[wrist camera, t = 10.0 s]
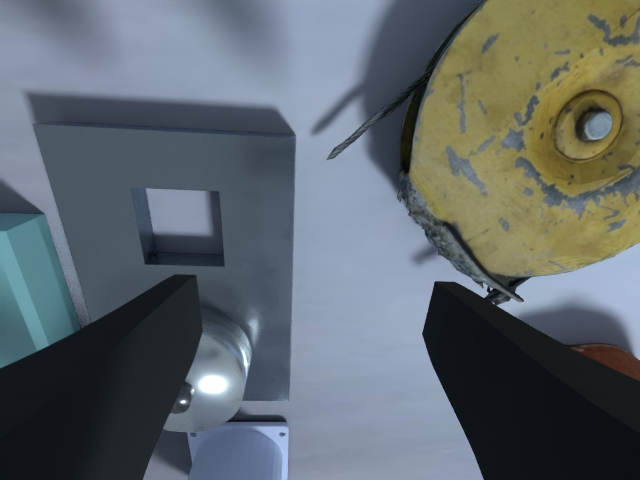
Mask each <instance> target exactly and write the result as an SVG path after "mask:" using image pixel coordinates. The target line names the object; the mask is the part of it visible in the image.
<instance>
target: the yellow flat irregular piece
mask: <svg viewBox="0 0 640 480" xmlns="http://www.w3.org/2000/svg"><path fill="white" fill-rule="evenodd" d="M412 93H413V94H412ZM411 94H412V96H411V98H410V101H409V103H408V105H407V109H406V113H405V116H404V120H403V124H402V128H401V137H400V145H399V154H398V155H399V164H400V170H399V174H398V184H399V192H398V195H397V198H398V200H399V202H400V201H401V196H402V197H403V198H404V199H405V200H406V201H407V204H406V207H407V208H408V209H409V210H410V213H409V214H408V215H409V216H412V217H413V218H415V219H416V223H418V224H420V226H422V227H423V228H421V229H425V235H426V237H427V239H428V241H429V242H430V243H432V244H433V245H435V246H436V247H437V249H438V251H439V252H438V255H441V256H443V257H444V258H446V259H447V260H449V261H450V262H451V264H452V265H453V266H454V267H455V268H456V270H458V271H460V272H462V273H463V274H465V275H467V276H469V277H471V278H472V279H473V281H474V282H476V283H477V284H479V285H480V286H481V287H482V288H483V283H486V284H487V285H488V288H487V292H488V293H489V294H488V295H487V296H486V297H485V298H484V299H486V300H488V301H489V302H491V303H493V302H494V303H495V305H496V306H497V305H499V304H501V303H504V302H507V301H509V300H510V299H511V298H513V299H515V300H517V301H518V302H523V301H524V300H523V299H522V298H521V297H520V296H519V295H517V294H516V293H515V290H516V288H517V287H518V286H519V285H521V284H522V283H523V282H525V281H526V280H528V279H529V278H531V277H535V276H545V275H555V274H560V273H566V272H571V271H574V270H577V269H580V268H583V267H586V266H588V265H591V264H594V263H597V262H600V261H603V260H606V259H608V258H611V257H614V256H615V255H617V254H619V253H621V252H622V251H624V250H626V249H628V248H630V247H632V246H634V245H636V244H637V243H639V242H640V0H484V1H483V2H481V3H480V4H478V5H477V6H476V7H474V8H473V9H472V10H471V11H470V12H469V13H468V14H466V15H465V16H464V17H463V18H462V19H461V20H460V21H459V22H458V23H457V24H456V26H455V27H454V28H453V29H452V30H451V32H450V33H449V34H448V35H447V36H446V38H445V39H444V40H443V41H442V42H441V43H440V45H439V46H438V47H437V49H436V51H435V52H434V54H433V55H432V57H431V59H430V60H429V62H428V63H427V65H426V67H425V68H424V70H423V72H422V73H421V75H420V77H419V78H418V79H416V80H415V81H414V82H413V83H411V84H410V85H409V86H408V87H407V88H406V89H404V90H403V91H402V92H401V93H400V94H399V95H397V96H396V97H395V98H394V99H393V100H392V101H391V102H389V103H388V104H387V105H386V106H385V107H383V108H382V109H381V110H380V111H378V112H377V113H376V114H375V115H374V116H372V117H371V118H370V119H369V120H368V121H366V122H365V123H364V124H363V125H362V126H361V127H360V128H359V129H358V130H357V131H356V132H354V133H353V134H352V135H351V136H350V137H349V138H348V139H346V140H345V141H344V142H343V143H342V144H340V145H338V146H337V147H335V148H334V149H333V151H332V152H331V154H330V155H329V157H328V158H327V160H329V159H333V158H335V157H336V156H337V155H338V154H339V153H341V152H342V151H343V150H344V149H345V148H347V147H348V146H349V145H350V144H352V143H353V142H354V141H355V140H356V139H358V138H359V137H360V136H361V135H362V134H363V133H364V132H365V131H366V130H367V129H368V128H369V127H370V126H372V125H373V124H375V123H376V122H378V121H379V120H381V119H382V118H384V117H386V116H388V115H389V114H390V113H392V112H393V111H394V110H395V109H396V108H398V107H399V106H400V105H401V104H402V103H403V102H404V101H405V100H406V99H407V98H408V97H409V96H410V95H411ZM489 287H491V288H493V290H492V291H490V288H489Z"/></svg>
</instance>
